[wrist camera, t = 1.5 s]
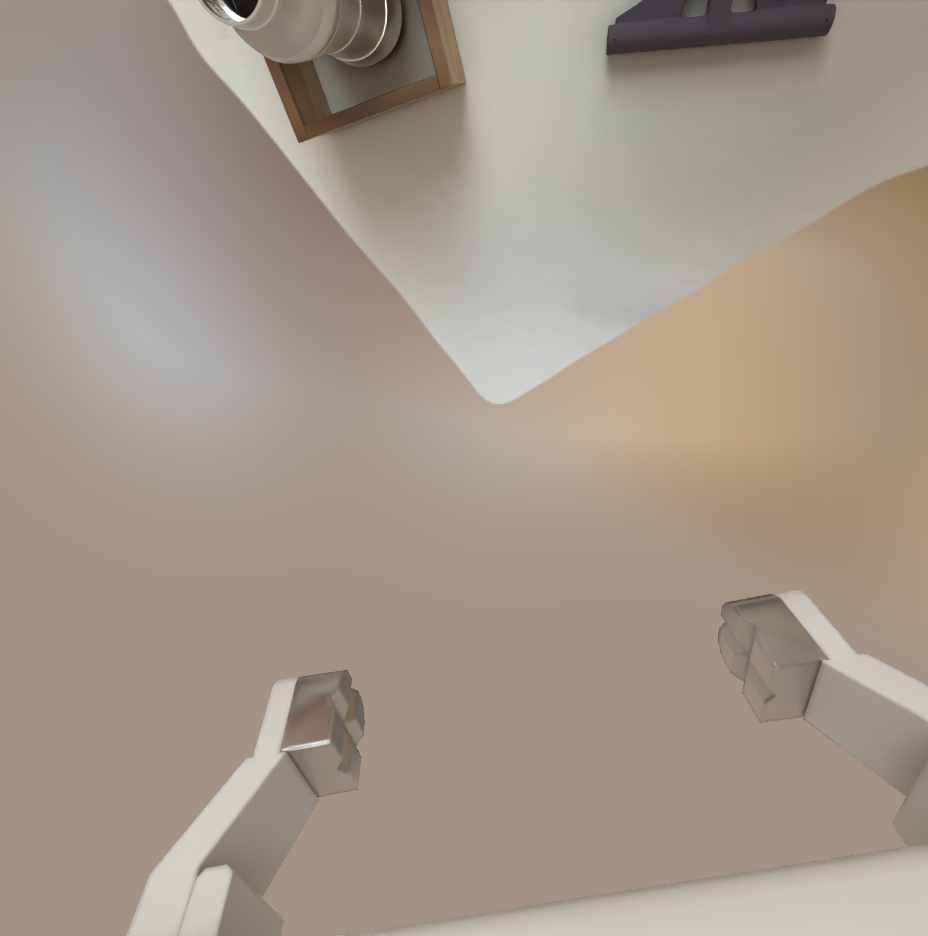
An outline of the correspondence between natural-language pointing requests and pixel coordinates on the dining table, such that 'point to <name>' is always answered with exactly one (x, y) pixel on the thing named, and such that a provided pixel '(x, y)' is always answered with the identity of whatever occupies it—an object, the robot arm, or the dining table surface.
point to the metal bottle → (314, 28)
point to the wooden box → (315, 117)
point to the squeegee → (716, 24)
